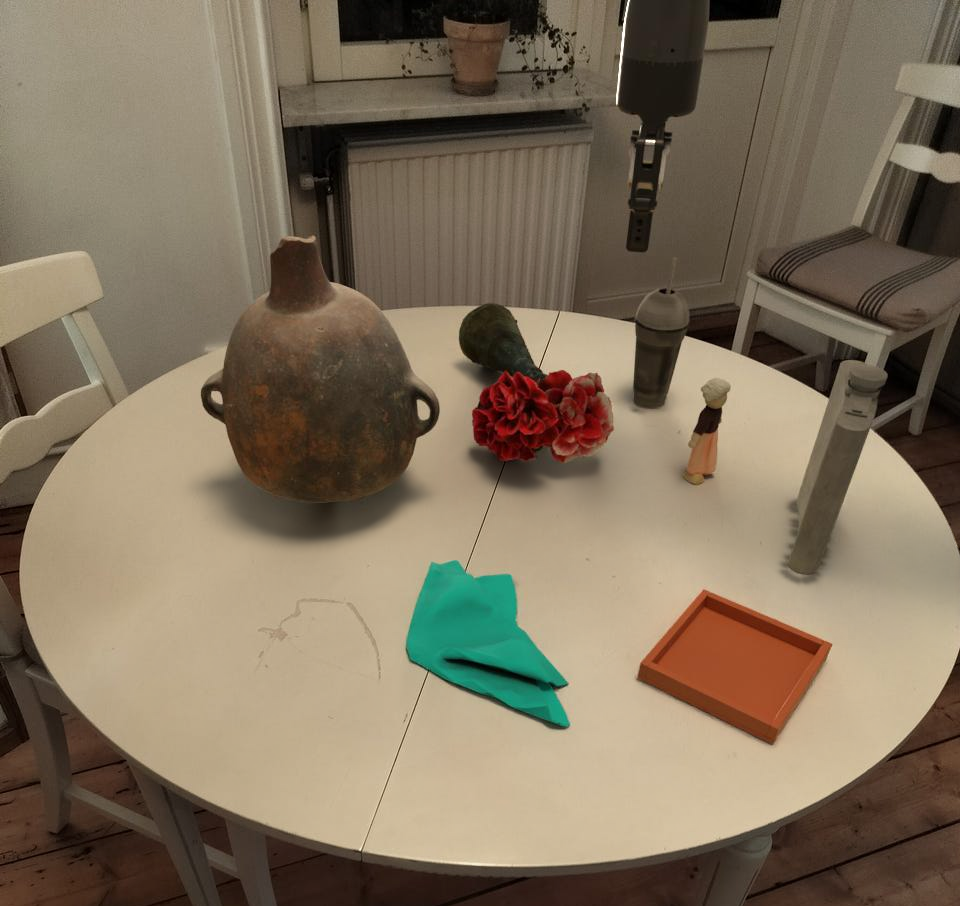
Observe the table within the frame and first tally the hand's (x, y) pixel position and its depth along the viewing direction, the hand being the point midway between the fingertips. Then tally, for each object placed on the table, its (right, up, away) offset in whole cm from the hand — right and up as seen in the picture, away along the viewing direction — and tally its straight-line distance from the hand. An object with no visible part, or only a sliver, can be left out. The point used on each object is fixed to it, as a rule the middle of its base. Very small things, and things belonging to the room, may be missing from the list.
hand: (638, 237), depth 90 cm
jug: (-35, -24, +15) cm, 45 cm away
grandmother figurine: (+11, -21, +19) cm, 30 cm away
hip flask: (+22, -30, +10) cm, 38 cm away
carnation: (-12, -12, +28) cm, 33 cm away
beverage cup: (+7, -8, +32) cm, 34 cm away
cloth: (-17, -42, -5) cm, 46 cm away
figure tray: (+8, -45, -7) cm, 46 cm away
